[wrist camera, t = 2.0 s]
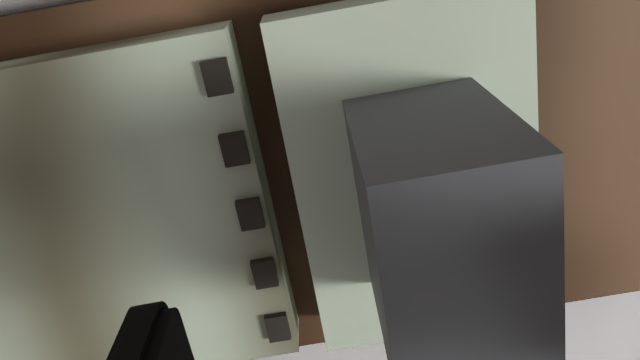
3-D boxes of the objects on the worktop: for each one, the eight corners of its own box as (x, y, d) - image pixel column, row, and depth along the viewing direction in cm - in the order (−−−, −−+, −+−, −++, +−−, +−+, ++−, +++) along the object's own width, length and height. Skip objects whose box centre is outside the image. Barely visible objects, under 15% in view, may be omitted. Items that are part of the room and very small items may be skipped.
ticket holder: (637, -102, 15) (707, -109, 12) (622, 273, 19) (672, 324, 16) (-138, 41, 15) (-223, 62, 13) (19, 372, 19) (-22, 436, 17)
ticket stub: (510, -30, 14) (673, -3, 8) (523, 286, 17) (642, 471, 11) (263, 14, 14) (239, 75, 8) (324, 318, 18) (339, 517, 12)
